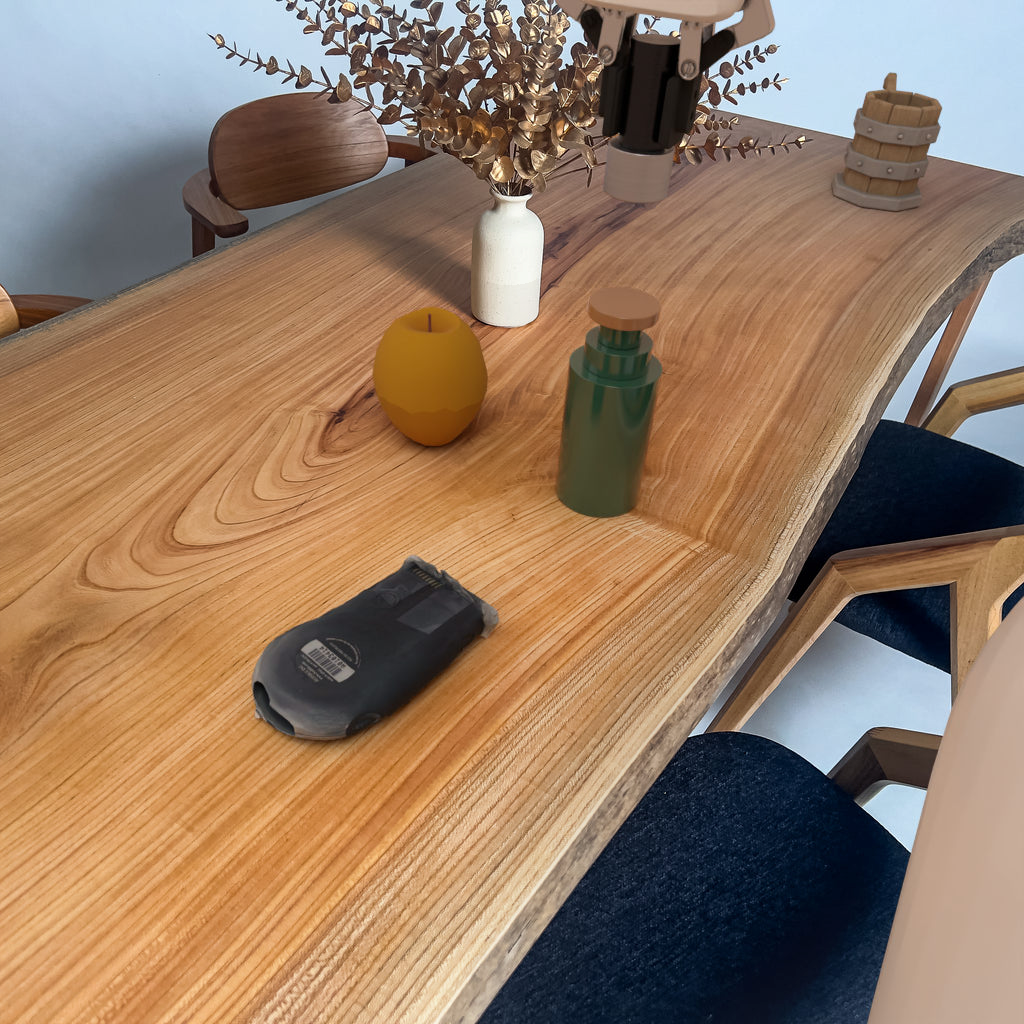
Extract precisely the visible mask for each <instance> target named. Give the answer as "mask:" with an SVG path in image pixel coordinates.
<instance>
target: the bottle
mask: <svg viewBox="0 0 1024 1024" xmlns="http://www.w3.org/2000/svg"><path fill="white" fill-rule="evenodd" d="M586 311H587V315H588V317H589V319H591V320H592V321H593V322H594V323H596V324H597V326H595V327H592V328H591V329H589V330H588V331H587V332H586V333H585V338H584V345H581V346H579V347H577V348H576V349H574V350H573V351H572V352H571V354H570V356H569V359H568V367H567V377H566V384H565V394H564V404H563V411H562V420H561V429H560V430H561V431H560V440H559V450H558V458H557V466H556V475H555V484H554V485H555V486H554V489H555V494H556V496H557V498H558V499H559V501H560V502H561V503H562V504H563V505H564V506H565V507H567V508H568V509H570V510H571V511H574V512H576V513H578V514H581V515H584V516H588V517H592V518H593V517H594V518H613V517H619V516H622V515H624V514H626V513H629V512H630V511H632V510H633V509H634V508H635V507H636V506H637V505H638V503H639V499H640V495H641V490H642V484H643V480H644V474H645V468H646V462H647V458H648V452H649V446H650V441H651V436H652V429H653V425H654V419H655V414H656V409H657V403H658V397H659V391H660V386H661V381H662V377H663V376H662V375H663V364H662V363H661V360H659V358H658V357H657V356H655V355H654V354H653V348H654V341H653V339H652V337H651V336H650V335H649V334H648V333H646V332H645V330H648V329H651V328H653V327H654V326H656V325H657V324H658V323H659V321H660V317H661V311H662V303H661V302H660V300H659V299H658V298H657V297H655V296H654V295H653V294H651V293H649V292H647V291H644V290H641V289H638V288H634V287H628V286H627V287H626V286H607V287H602V288H599V289H597V290H595V291H593V292H591V294H589V297H588V301H587V309H586ZM598 324H599V325H598Z"/></svg>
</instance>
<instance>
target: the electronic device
mask: <svg viewBox="0 0 1024 1024" xmlns="http://www.w3.org/2000/svg"><path fill="white" fill-rule="evenodd" d="M499 623H500V617H499V611H498V609H496V608H495V607H494V606H492V605H491V604H490V603H488V602H486V601H485V600H484V599H482V598H481V597H480V596H477V595H476V594H475V593H473V592H471V591H470V590H468V589H467V588H465V587H464V586H463V585H462V584H461V583H460V582H459V580H457V579H455V578H453V577H452V576H451V575H450V574H449V573H448V572H447V571H446V570H445V569H440V571H439V570H438V569H437V566H436V565H435V564H432V563H429V562H427V561H425V560H424V559H423V558H421V557H420V556H418V555H416V554H411V555H409V556H407V557H406V558H405V560H404V561H403V562H402V565H401V566H400V568H399V569H398V570H396V571H394V572H393V573H391V574H389V575H387V576H386V577H384V578H383V579H382V580H380V581H379V580H378V581H377V582H376V583H374V584H372V585H371V586H369V587H368V588H366V589H363V590H362V591H360V592H359V593H358V594H356V595H354V596H353V597H351V598H349V599H348V600H346V601H345V602H343V603H342V604H340V605H338V606H336V607H333V608H331V609H329V610H328V611H326V612H325V613H323V614H321V615H320V616H319V617H316V618H313V619H311V620H308V621H305V622H302V623H300V624H298V625H296V626H293V627H292V628H290V629H288V630H285V632H283V633H282V634H280V635H278V636H276V637H275V638H274V639H272V640H271V641H270V642H269V643H268V644H267V645H266V646H265V648H264V649H263V651H262V653H261V654H260V656H259V657H258V659H257V661H256V662H255V666H254V668H253V672H252V676H251V689H252V695H253V701H254V704H255V709H254V718H256V719H260V718H261V719H262V720H264V721H265V722H266V723H267V724H268V725H270V726H271V727H272V728H274V729H276V730H277V731H279V732H281V733H282V734H285V735H287V736H290V737H295V738H300V739H304V740H310V741H311V740H312V741H334V740H335V741H336V740H341V739H346V738H350V737H352V736H354V735H356V734H358V733H360V732H362V731H364V730H366V729H368V728H370V727H371V726H374V725H376V724H378V723H380V722H382V720H383V719H384V718H387V717H390V716H392V715H393V714H395V713H396V712H397V711H398V710H400V709H401V708H402V707H404V706H405V705H408V704H409V703H410V701H411V700H412V699H413V698H414V697H415V696H417V695H419V693H421V691H423V690H424V689H425V688H426V687H428V685H429V684H430V683H431V682H432V681H433V680H434V679H436V678H437V677H439V676H440V675H441V674H442V673H443V672H445V670H446V669H448V668H449V667H450V666H451V665H452V663H454V661H455V660H456V659H457V658H458V657H459V656H460V655H461V653H462V652H463V651H464V650H465V649H466V648H467V647H468V646H469V645H470V643H472V642H473V640H475V639H476V638H477V637H479V636H480V637H483V639H484V640H486V639H489V638H490V635H491V634H492V632H493V631H494V630H495V628H496V626H497V625H498V624H499Z"/></svg>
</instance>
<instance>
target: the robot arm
mask: <svg viewBox="0 0 1024 1024" xmlns="http://www.w3.org/2000/svg"><path fill="white" fill-rule="evenodd" d="M554 2H555V4H556V5H557V6H558V7H559V8H560V9H561V10H562V11H563V12H564V13H566V14H567V15H568V16H569V17H570V18H571V19H572V20H574V22H577V23H578V24H579V25H580V26H581V29H582V30H583V32H584V33H585V35H586V36H587V38H588V40H589V41H590V43H591V44H592V46H593V48H594V50H595V51H596V58H597V60H598V63H600V65H602V75H601V82H600V83H601V84H600V91H599V92H600V94H599V103H598V110H597V111H598V112H597V113H598V117H600V118H603V120H602V128H601V136H603V137H607V138H614V137H616V136H618V135H619V132H620V124H621V116H622V108H623V100H624V92H625V84H626V77H627V69H628V61H629V53H630V45H631V37H632V36H633V35H636V32H637V27H638V24H639V23H638V22H639V19H640V15H645V16H652V17H657V18H658V17H659V18H664V19H669V20H670V19H671V20H677V21H681V25H680V38H679V39H680V53H679V64H678V65H677V66H676V72H675V76H673V77H671V78H670V79H669V80H668V82H667V87H666V93H665V100H664V106H663V113H662V119H661V126H660V132H659V139H658V145H660V147H661V148H664V149H670V148H672V147H673V146H674V147H675V146H676V145H677V144H678V143H680V142H681V141H682V140H683V139H684V137H685V135H688V134H690V133H691V132H692V130H693V128H694V125H695V120H696V115H697V109H698V103H699V99H700V98H699V97H700V92H701V86H702V81H703V75H704V73H705V72H707V71H708V70H709V69H710V68H712V67H713V65H715V64H716V63H718V62H719V61H721V59H722V58H724V57H725V56H726V55H727V54H729V53H730V52H731V51H734V50H736V49H739V48H743V47H744V46H747V45H750V44H752V43H754V42H757V41H759V40H761V39H764V38H766V37H767V36H769V35H770V34H772V33H773V31H774V30H775V27H776V19H775V15H774V12H773V11H774V10H773V7H772V4H771V0H554ZM739 12H742V18H741V19H740V20H739V21H738V22H736V23H734V24H731V25H729V26H725V27H724V28H722V29H720V30H719V31H717V32H716V25H717V24H716V23H719V22H720V23H721V22H723V21H725V20H728V19H730V18H731V17H732V16H734V15H735V13H739ZM936 753H937V754H936V756H935V760H934V763H933V766H932V770H931V774H930V778H929V781H928V786H927V788H926V789H927V790H926V793H925V796H924V797H925V798H924V801H923V805H922V808H921V812H920V816H919V821H918V823H917V824H918V825H917V829H916V831H915V836H914V839H913V844H912V848H911V851H910V856H909V859H908V863H907V867H906V871H905V875H904V879H903V882H902V886H901V889H900V894H899V898H898V902H897V906H896V910H895V914H894V917H893V921H892V926H891V930H890V933H889V937H888V940H887V941H888V942H887V944H886V949H885V953H884V957H883V959H882V960H883V961H882V963H881V964H882V965H881V967H880V972H879V977H878V980H877V983H876V988H875V992H874V996H873V1000H872V1002H871V1007H870V1010H869V1011H870V1012H869V1014H868V1019H867V1023H866V1024H1024V596H1022V597H1021V598H1020V600H1019V601H1018V602H1017V603H1016V604H1015V605H1014V606H1013V607H1012V609H1011V610H1010V611H1009V613H1008V614H1007V615H1006V616H1005V617H1004V619H1003V620H1002V621H1001V623H1000V624H999V625H998V626H997V627H996V629H995V630H994V631H993V632H992V634H991V635H990V636H989V637H988V639H986V641H985V643H984V644H983V646H982V648H981V649H980V651H979V653H978V655H977V656H976V658H975V660H974V661H973V663H972V665H971V667H970V668H969V670H968V672H967V673H966V675H965V677H964V679H963V681H962V684H961V686H960V689H959V690H958V693H957V695H956V697H955V700H954V702H953V704H952V707H951V709H950V712H949V715H948V718H947V722H946V725H945V727H944V731H943V734H942V737H941V741H940V744H939V747H938V751H937V752H936Z"/></svg>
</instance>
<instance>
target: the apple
mask: <svg viewBox="0 0 1024 1024" xmlns="http://www.w3.org/2000/svg"><path fill="white" fill-rule="evenodd" d="M375 350H376V351H375V356H374V361H373V367H372V373H371V374H372V380H373V387H374V390H375V394H376V397H377V400H378V402H379V404H380V407H381V409H382V411H383V412H384V413H385V416H387V418H388V419H389V421H390V422H391V423H392V425H393V426H394V427H395V428H396V429H397V430H398V431H399V432H400V433H401V435H404V436H405V437H407V438H408V439H410V440H412V441H413V442H416V443H419V444H421V445H423V446H426V447H441V446H444V445H447V444H450V443H451V442H453V440H455V439H456V438H457V437H459V436H460V434H461V433H462V432H463V431H465V429H466V428H467V427H468V426H469V425H470V424H471V422H472V421H473V420H474V418H475V417H476V416H477V415H478V413H479V412H480V410H481V408H482V406H483V402H484V400H485V397H486V395H487V391H488V381H489V375H488V374H489V373H488V369H487V365H486V361H485V358H484V357H485V356H484V353H483V349H482V345H481V342H480V340H479V337H477V335H476V334H475V332H474V331H473V329H472V327H471V326H470V325H469V324H468V323H467V322H466V321H465V320H463V319H462V318H461V317H460V316H459V315H458V314H456V313H455V312H451V311H450V310H447V309H446V308H442V307H436V306H427V307H422V308H419V309H416V310H413V311H411V312H408V313H405V314H403V315H401V316H399V317H397V318H395V319H394V320H393V322H391V324H390V325H389V326H388V327H387V329H386V330H385V331H384V333H383V335H382V337H381V339H380V342H379V344H378V346H377V348H376V349H375Z"/></svg>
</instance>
